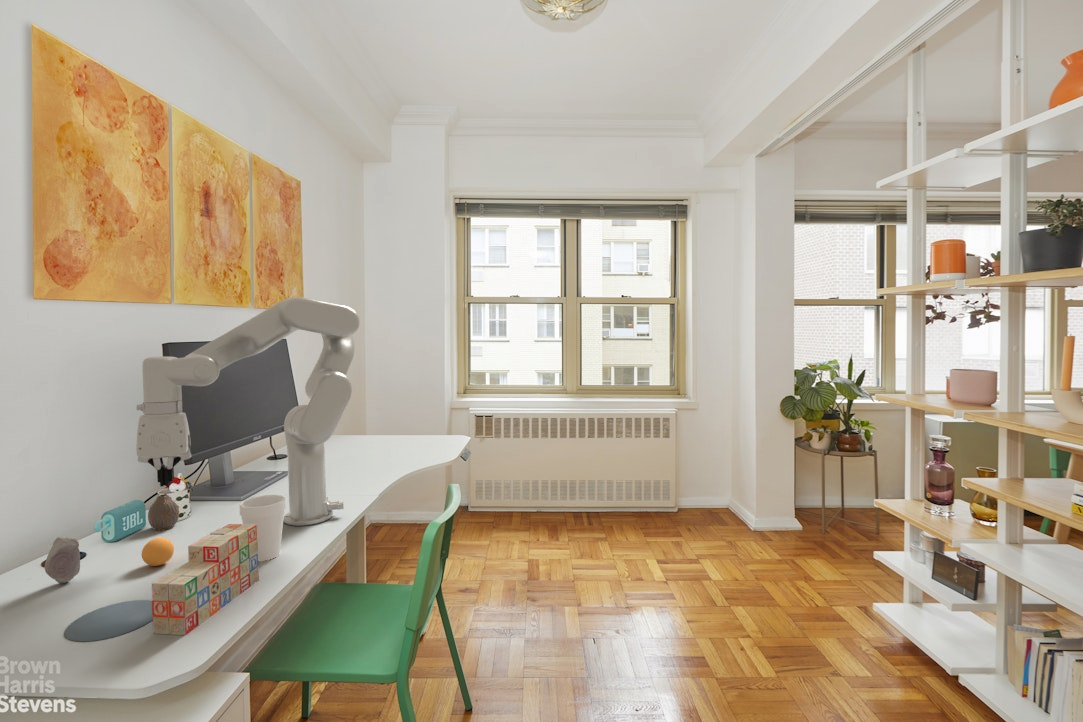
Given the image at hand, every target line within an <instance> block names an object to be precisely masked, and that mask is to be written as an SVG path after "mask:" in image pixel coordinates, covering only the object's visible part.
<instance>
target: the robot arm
mask: <svg viewBox="0 0 1083 722" xmlns="http://www.w3.org/2000/svg"><path fill="white" fill-rule="evenodd" d="M359 328H360V316H359V315H358V313H357V311H355V310H354V309H353V308H351V307H349V306H346V305H341V304H337V303H331V302H326V301H321V300H317V299H312V298H307V297H300V296H298V297H289V298H285V299H282V300H280V301H279V302H276V303H275V304H274V305H272V306H270V307H267V309H265V310H264V311H262V312H260V313H259V314H256V315H254V316H253V317H251V318H250V319H248V320H246V321H244V322H243V323H241V324H240V325H237V326H236V327H233V329H230V330H229V331H227V332H226V333H224V334H222V335H220V336H218V337H216V338H215V339H212V340H211V341H210V342H207V343H206V344H204V345H202V346H201V347H199V348H196V350H194V351H192V352H190V353H189V354H187V355H185V356H184V357H176V356H150V357H149V356H148V357H146V358H145V359H143V361H142V390H143V391H142V393H143V402H142V403H141V404H137V405H136V410H137V411H142V413H143V414H142V415H140V416H139V418H138V423H137V430H136V431H137V433H136V435H137V436H136V455H137V461H138V462H139V463H144V464H145V463H146V464H149V465H151V466H152V467H153V468H154V470H155V471H157V472H156V473H157V475H156V476H157V483H159V486H160V487H161V488H162V487H164V486H165V487H169V486H170V485H171V484H172V483H173V482H174V480H175V469H174V467H175V466H176V465H177V464H179V462H182V461H187V460H189V459H190V458H192V455H193V454H192V453H191V445H192V444H191V443H192V442H191V432H190V428H189V427H190V426H189V422H188V417H187V414H186V412H183V392H182V386H191V387H206V386H209V385H211V384H213V383H214V382H215V381H216V380H218V378H219V376H220V372H221V370H223V369H225V368H226V367H229V366H230V365H232V364H233V363H234V364H235V362H237V361H240V360H242V359H245V358H248V357H253V356H255V355H259V354H260V353H262V352H264V351H267V349H269V348H271V346H274V345H275V344H277V343H278V342H281V340H283V339H285V338H286V337H288V336H290V335H291V334H293V333H295V332H296V331H298V330H299V331H305V332H311V333H315V334H320V335H321V336H322V345H323V346H322V349H321V352H320V355H319V356H318V357H319V358H318V360H317V362H316V364H314V367H313V369H312V372H311V373H310V375H309V377H308V378H307V380H306V382H305V387H304V389H305V394H306V396H307V397H308V399H310V400H309V402H308V403H307V404H300V405H297V406H294V407H292V408H291V409H290V410H289V411H288V412H287V414H286V415H285V419H284V423H283V430H284V431H283V432H284V436H285V437H284V438H285V443H286V450H287V451H286V452H287V473H288V474H287V475H288V476H287V477H288V499H289V500H288V501H289V503H288V504H289V511H288V512H287V513H286V514H284V518H283V523H285V524H286V525H290V526H298V527H299V526H308V525H309V526H311V525H315V524H319V523H323V522H325V521H327V520H329V519H331V518H332V517H333V515H334V514H333V511H334V510H339V511H340V510H344V501H343V502H340V501H339V500H337V501H331V500H330V501H329V498H328V497H327V483H326V482H327V481H326V479H327V478H326V451H325V449H326V448H325V444H324V443H326V442H327V441H328V440H329V439H330V438H331V437H332V436H333V435H334V434H335V432H336V430H337V428H338V425H339V423H340V421H341V419H342V417H343V415H344V413H345V411H346V408H347V406H348V405H349V402H350V400H351V397H352V391H353V387H352V382H351V381H350V379H349V377H348V376H347V374H348V372H349V369H350V366H351V364H352V362H353V359H354V355H355V342H354V337H353V335H354V334H355V333H356V332H357V331H358V329H359ZM164 458H167V461H166V465H165V462H164Z"/></svg>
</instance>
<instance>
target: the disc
mask: <svg viewBox="0 0 1083 722" xmlns="http://www.w3.org/2000/svg"><path fill="white" fill-rule="evenodd" d="M151 622H153V616H152V599H151V600H150V599H136V600H135V599H134V600H126V601H122V602H118V603H114V604H109V605H106V606H102V607H100V608H97V609H94V610H92V611H90V612H87V613H85V614H83V615H82V616H80V617H78V618H76V619H75V620H73V621H72V622H71V623H70V624H69V625H68V626H67V627H66V628H65V631H64V635H65V637H66V639H68V640H71V641H73V642H74V641H75V642H83V643H84V642H95V641H101V640H107V639H111V638H115V637H118V636H122V635H125V634H127V633H130V632H133V631H135V630H137V629H140V628H142V627H143V626H146V625H147V624H149V623H151Z"/></svg>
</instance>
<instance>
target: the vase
mask: <svg viewBox="0 0 1083 722" xmlns="http://www.w3.org/2000/svg"><path fill="white" fill-rule="evenodd" d="M179 518H180V509H179V506H178V504H177V503H176V502H175V501H174V500H173V499H172V498H171V497H170V495H169V494H168V493H167V494H166V493H163V494H159V495H157V496H156V498H155V500H154V502H153V503H152V504H151V506H150V507H149V509H148V513H147V520H148V523H149V526H150V527H151V528H153V529H154V530H156V531H165V530H169V529H171V528H174V526H176V524H177V523H178V521H179Z"/></svg>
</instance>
